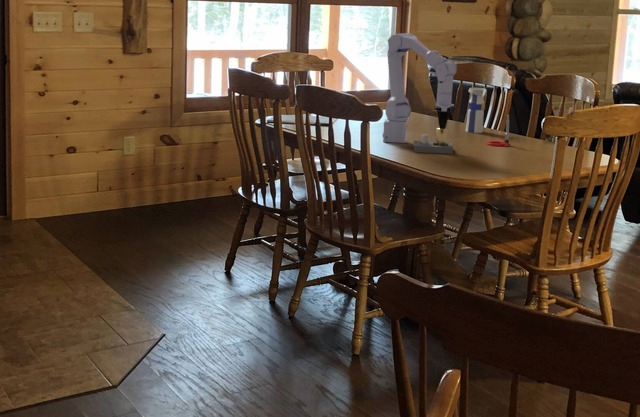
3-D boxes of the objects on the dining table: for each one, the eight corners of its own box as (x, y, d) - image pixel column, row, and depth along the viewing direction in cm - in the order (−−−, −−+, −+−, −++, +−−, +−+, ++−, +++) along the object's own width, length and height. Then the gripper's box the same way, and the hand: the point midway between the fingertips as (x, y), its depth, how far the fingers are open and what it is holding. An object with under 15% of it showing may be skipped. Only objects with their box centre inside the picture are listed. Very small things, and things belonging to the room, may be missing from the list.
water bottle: (486, 131, 394) (491, 76, 387) (479, 133, 387) (484, 77, 380) (469, 129, 398) (474, 74, 391) (462, 131, 391) (466, 75, 384)
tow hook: (485, 146, 359) (507, 147, 357) (486, 115, 356) (509, 116, 354) (487, 143, 367) (509, 144, 364) (488, 112, 364) (510, 113, 361)
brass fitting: (434, 151, 342) (436, 128, 339) (434, 149, 346) (436, 127, 344) (446, 152, 341) (447, 129, 339) (446, 150, 345) (447, 127, 343)
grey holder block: (414, 151, 339) (415, 136, 338) (413, 146, 350) (414, 132, 348) (452, 154, 338) (453, 138, 336) (451, 148, 348) (452, 134, 347)
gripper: (456, 95, 331) (453, 130, 334) (453, 90, 345) (451, 124, 348) (437, 94, 331) (434, 129, 335) (436, 90, 345) (433, 123, 349)
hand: (442, 127), depth 341 cm, fingers open, 7 cm apart
